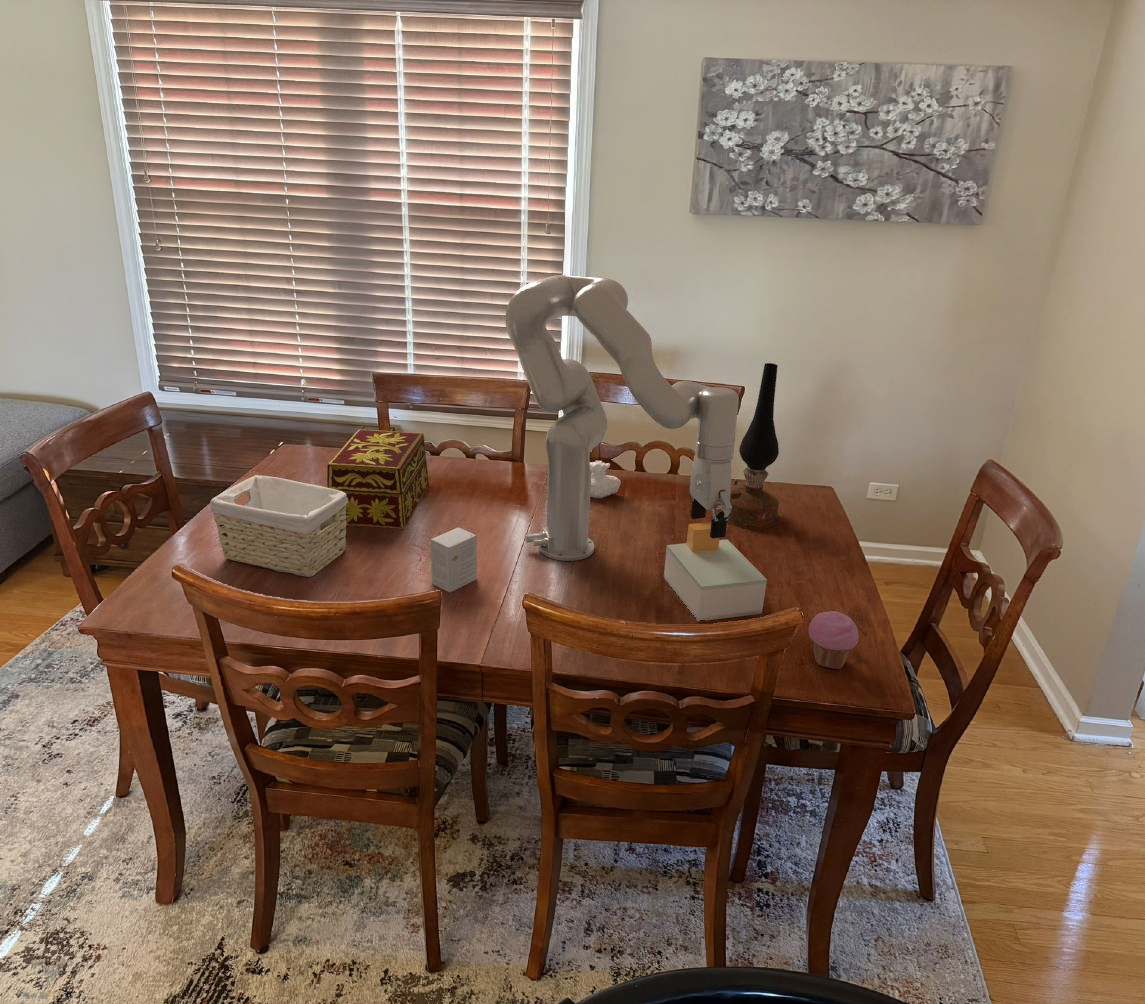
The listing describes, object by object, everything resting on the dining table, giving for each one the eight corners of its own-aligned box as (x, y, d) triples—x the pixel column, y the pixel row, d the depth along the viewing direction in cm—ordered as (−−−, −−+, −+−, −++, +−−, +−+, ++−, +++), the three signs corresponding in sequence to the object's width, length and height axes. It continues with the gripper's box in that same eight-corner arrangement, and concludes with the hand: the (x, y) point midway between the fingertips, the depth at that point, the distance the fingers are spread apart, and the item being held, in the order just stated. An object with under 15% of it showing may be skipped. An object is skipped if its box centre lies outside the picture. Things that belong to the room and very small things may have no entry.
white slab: (765, 586, 166) (770, 557, 163) (700, 593, 162) (704, 563, 159) (726, 546, 181) (730, 518, 179) (666, 551, 178) (669, 523, 175)
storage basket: (355, 550, 186) (350, 489, 180) (312, 584, 171) (306, 518, 165) (263, 532, 192) (256, 472, 186) (214, 562, 178) (205, 499, 172)
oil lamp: (782, 530, 213) (840, 380, 199) (753, 539, 201) (812, 379, 187) (737, 507, 220) (789, 361, 207) (707, 514, 209) (760, 360, 195)
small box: (459, 570, 179) (458, 526, 175) (477, 579, 176) (477, 534, 172) (430, 584, 173) (429, 538, 169) (449, 593, 170) (448, 547, 166)
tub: (761, 613, 168) (766, 583, 165) (697, 621, 164) (701, 590, 162) (723, 571, 184) (726, 542, 181) (663, 577, 180) (666, 548, 177)
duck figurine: (573, 501, 221) (572, 480, 211) (576, 476, 224) (575, 454, 214) (619, 505, 220) (620, 484, 210) (621, 480, 223) (622, 458, 213)
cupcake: (855, 679, 149) (865, 631, 145) (805, 672, 150) (814, 625, 146) (849, 652, 157) (858, 605, 153) (801, 645, 158) (810, 599, 154)
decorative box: (404, 530, 196) (402, 470, 190) (326, 525, 197) (321, 465, 191) (429, 485, 222) (428, 431, 215) (360, 480, 222) (356, 427, 216)
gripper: (680, 437, 174) (674, 512, 181) (715, 466, 159) (708, 547, 166) (713, 435, 176) (706, 509, 183) (751, 463, 161) (742, 543, 168)
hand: (707, 527), depth 174 cm, fingers open, 9 cm apart
